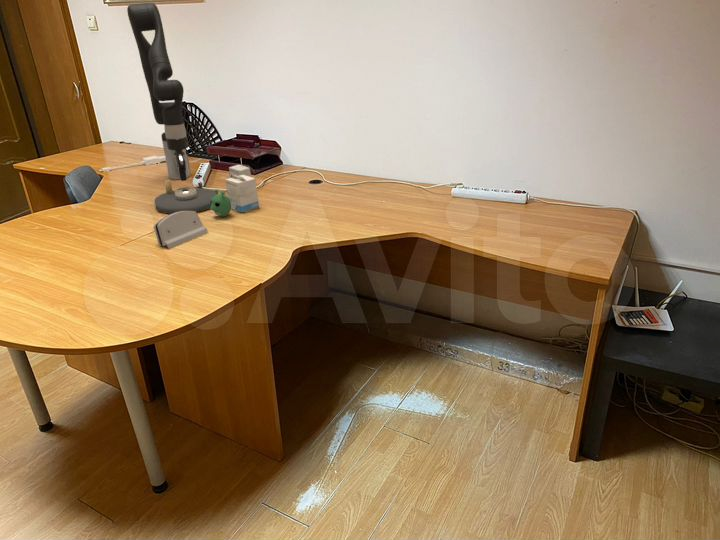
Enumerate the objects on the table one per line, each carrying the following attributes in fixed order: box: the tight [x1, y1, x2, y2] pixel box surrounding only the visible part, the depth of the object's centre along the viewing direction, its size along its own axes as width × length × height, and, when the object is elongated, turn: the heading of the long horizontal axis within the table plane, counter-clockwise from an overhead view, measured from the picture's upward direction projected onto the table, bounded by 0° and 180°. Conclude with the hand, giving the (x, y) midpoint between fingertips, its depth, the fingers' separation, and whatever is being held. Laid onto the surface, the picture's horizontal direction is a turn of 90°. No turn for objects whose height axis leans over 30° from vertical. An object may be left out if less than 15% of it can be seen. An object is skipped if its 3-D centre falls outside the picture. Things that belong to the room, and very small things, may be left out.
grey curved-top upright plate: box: [153, 211, 209, 250], centre depth 166 cm, size 17×5×10 cm, turn 147°
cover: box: [174, 186, 197, 201], centre depth 196 cm, size 8×8×3 cm
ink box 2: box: [225, 174, 260, 214], centre depth 192 cm, size 9×8×13 cm
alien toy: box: [209, 189, 232, 218], centre depth 184 cm, size 7×8×10 cm
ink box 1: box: [228, 164, 252, 178], centre depth 206 cm, size 9×5×12 cm, turn 46°
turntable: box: [153, 179, 217, 215], centre depth 197 cm, size 24×24×8 cm
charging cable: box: [98, 155, 166, 173], centre depth 253 cm, size 5×32×3 cm, turn 127°
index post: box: [197, 182, 204, 189], centre depth 211 cm, size 2×2×4 cm
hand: (183, 180), depth 200 cm, fingers closed
